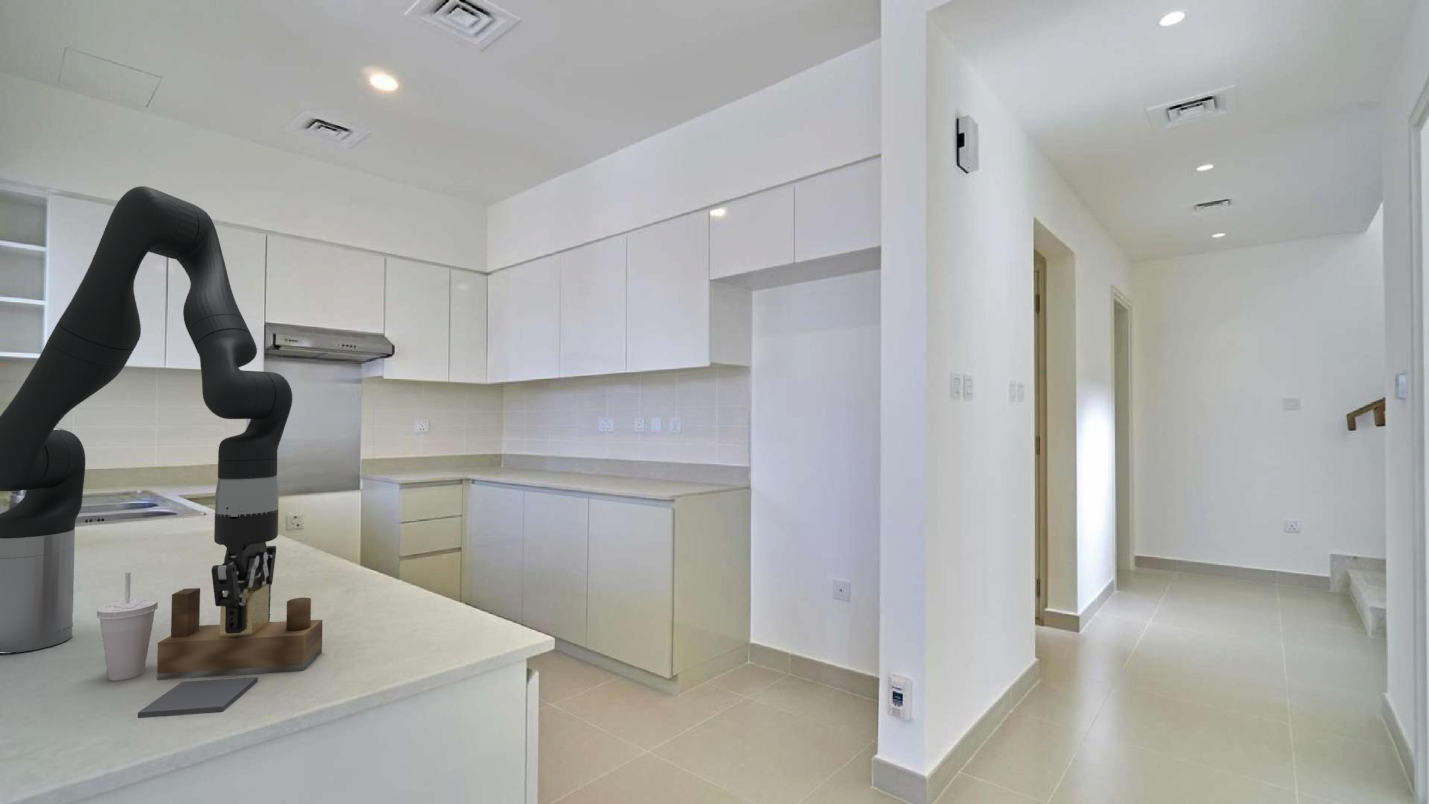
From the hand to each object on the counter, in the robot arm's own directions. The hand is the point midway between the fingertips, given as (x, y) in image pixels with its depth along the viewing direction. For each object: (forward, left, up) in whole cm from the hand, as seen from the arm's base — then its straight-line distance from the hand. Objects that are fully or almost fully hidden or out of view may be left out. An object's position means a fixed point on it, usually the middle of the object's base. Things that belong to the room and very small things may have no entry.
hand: (244, 625), depth 95 cm
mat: (0, -11, -6) cm, 12 cm away
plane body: (0, 0, -6) cm, 6 cm away
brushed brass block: (0, 0, -1) cm, 1 cm away
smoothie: (-14, -1, -6) cm, 15 cm away
